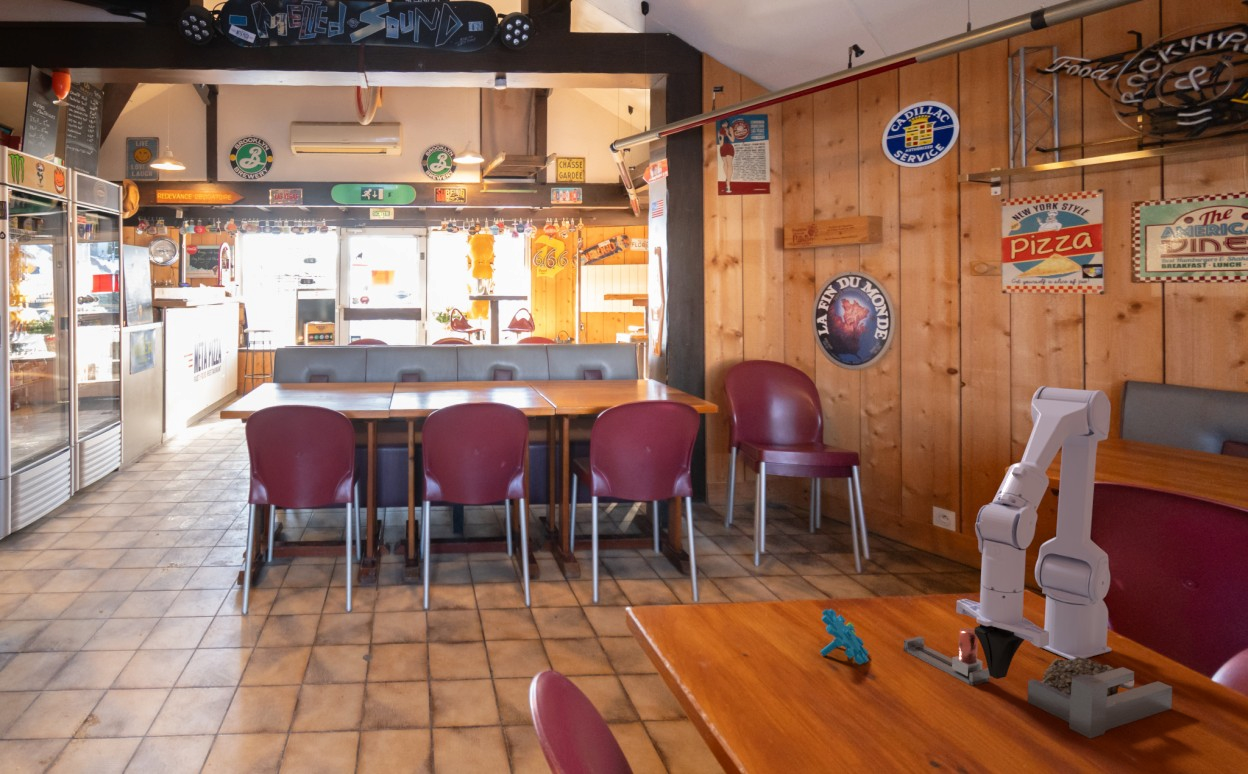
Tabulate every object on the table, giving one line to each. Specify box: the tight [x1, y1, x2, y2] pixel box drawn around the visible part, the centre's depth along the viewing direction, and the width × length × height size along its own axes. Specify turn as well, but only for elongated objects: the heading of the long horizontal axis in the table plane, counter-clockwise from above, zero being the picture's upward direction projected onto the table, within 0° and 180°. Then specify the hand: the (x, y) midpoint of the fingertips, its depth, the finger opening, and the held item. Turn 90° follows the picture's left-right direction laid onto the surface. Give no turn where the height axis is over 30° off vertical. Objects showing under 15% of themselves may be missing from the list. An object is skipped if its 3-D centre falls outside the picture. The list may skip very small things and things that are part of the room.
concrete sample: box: [1040, 657, 1119, 697], centre depth 118 cm, size 12×10×5 cm
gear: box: [819, 608, 870, 665], centre depth 133 cm, size 11×6×10 cm
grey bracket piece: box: [1027, 667, 1174, 739], centre depth 116 cm, size 18×10×7 cm, turn 115°
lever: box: [951, 627, 983, 676], centre depth 125 cm, size 3×3×6 cm
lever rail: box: [903, 636, 991, 686], centre depth 130 cm, size 4×14×2 cm, turn 25°
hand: (997, 676), depth 120 cm, fingers closed
